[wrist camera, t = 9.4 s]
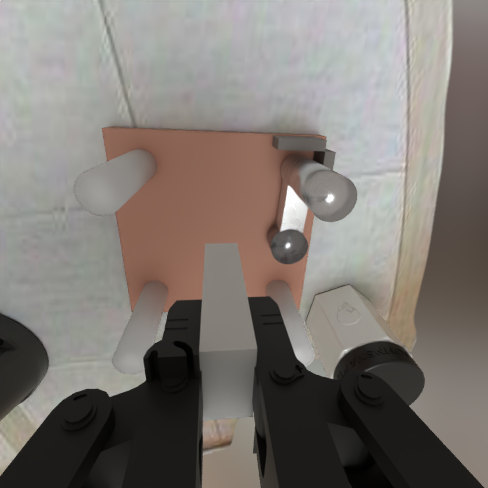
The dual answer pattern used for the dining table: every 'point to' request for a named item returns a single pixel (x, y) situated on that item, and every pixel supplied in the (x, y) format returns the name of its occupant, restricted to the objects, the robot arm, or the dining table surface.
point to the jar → (361, 342)
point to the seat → (196, 219)
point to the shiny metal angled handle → (307, 204)
